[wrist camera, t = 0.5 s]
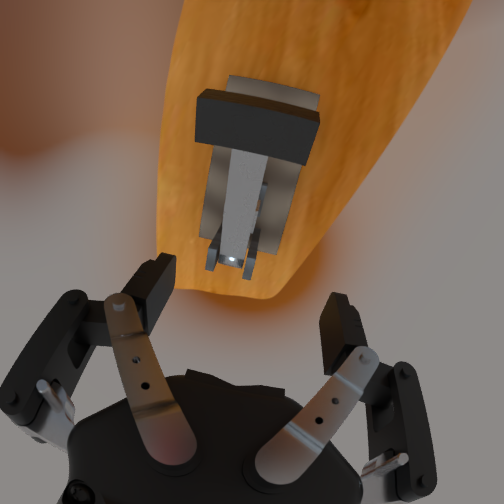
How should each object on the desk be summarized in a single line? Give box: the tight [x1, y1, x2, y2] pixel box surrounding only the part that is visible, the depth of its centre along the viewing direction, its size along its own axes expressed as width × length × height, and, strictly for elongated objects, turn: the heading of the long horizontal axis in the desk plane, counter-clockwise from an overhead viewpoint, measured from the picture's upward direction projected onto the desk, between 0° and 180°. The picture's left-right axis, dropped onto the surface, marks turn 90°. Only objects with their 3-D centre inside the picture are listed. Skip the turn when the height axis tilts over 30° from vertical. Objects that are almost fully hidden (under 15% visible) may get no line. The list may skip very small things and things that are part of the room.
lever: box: [195, 89, 320, 269], centre depth 27 cm, size 21×9×4 cm, turn 168°
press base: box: [199, 75, 320, 280], centre depth 32 cm, size 24×12×11 cm, turn 168°
